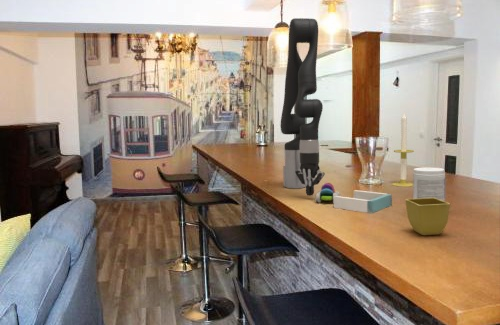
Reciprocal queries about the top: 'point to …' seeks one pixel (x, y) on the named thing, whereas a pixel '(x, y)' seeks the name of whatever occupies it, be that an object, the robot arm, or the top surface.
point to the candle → (403, 155)
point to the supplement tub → (429, 183)
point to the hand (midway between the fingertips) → (310, 195)
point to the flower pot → (427, 215)
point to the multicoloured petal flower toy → (326, 193)
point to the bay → (364, 201)
